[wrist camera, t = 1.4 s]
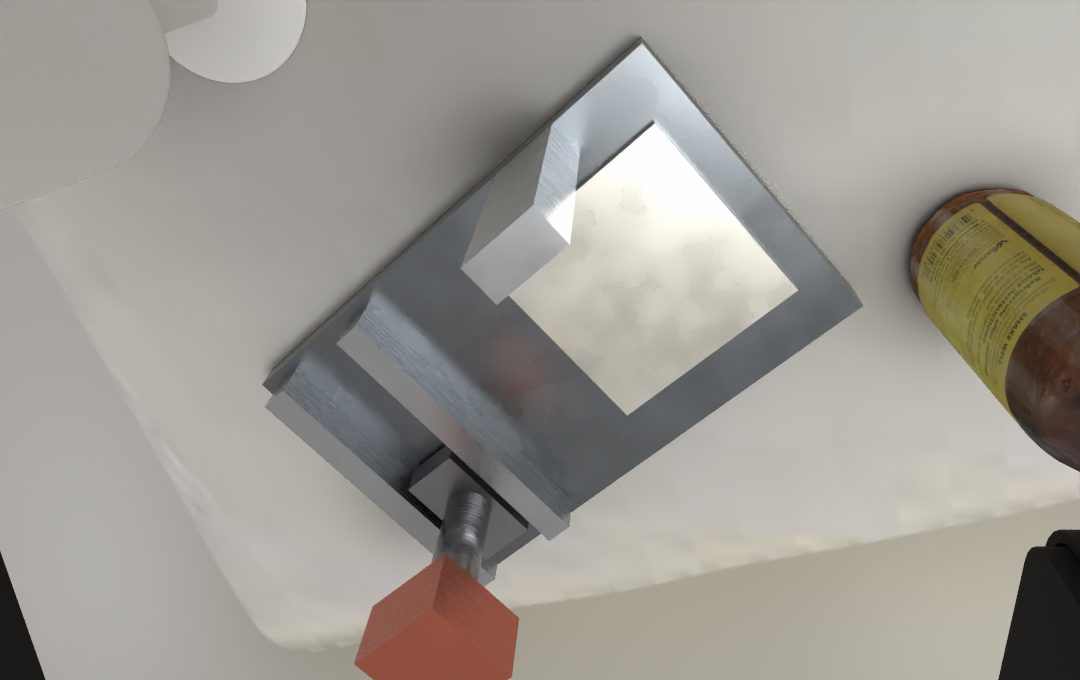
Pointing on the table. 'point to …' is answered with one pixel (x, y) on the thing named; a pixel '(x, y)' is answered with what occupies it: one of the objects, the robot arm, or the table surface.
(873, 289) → the table surface
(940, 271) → the sauce bottle
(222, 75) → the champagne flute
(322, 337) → the base
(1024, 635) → the robot arm
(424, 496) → the press lever
